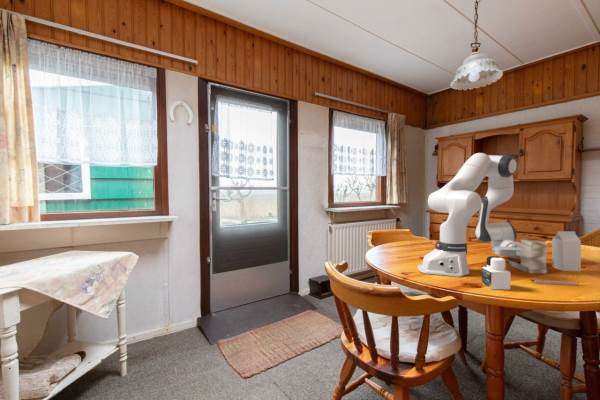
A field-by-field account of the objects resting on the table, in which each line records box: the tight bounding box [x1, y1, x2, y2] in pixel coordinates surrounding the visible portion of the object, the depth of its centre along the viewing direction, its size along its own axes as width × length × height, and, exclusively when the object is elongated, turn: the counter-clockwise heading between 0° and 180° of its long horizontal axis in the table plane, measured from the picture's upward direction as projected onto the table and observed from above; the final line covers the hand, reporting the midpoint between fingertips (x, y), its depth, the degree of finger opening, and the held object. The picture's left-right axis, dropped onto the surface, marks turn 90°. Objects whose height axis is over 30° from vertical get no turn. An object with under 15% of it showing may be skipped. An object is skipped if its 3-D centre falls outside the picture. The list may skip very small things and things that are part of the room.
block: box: [520, 238, 547, 275], centre depth 127 cm, size 6×8×14 cm
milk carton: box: [551, 230, 582, 273], centre depth 130 cm, size 7×7×19 cm
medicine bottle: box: [481, 255, 512, 291], centre depth 110 cm, size 7×7×12 cm
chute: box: [508, 260, 578, 286], centre depth 125 cm, size 14×27×3 cm, turn 167°
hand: (527, 255), depth 131 cm, fingers closed, pressing on block
